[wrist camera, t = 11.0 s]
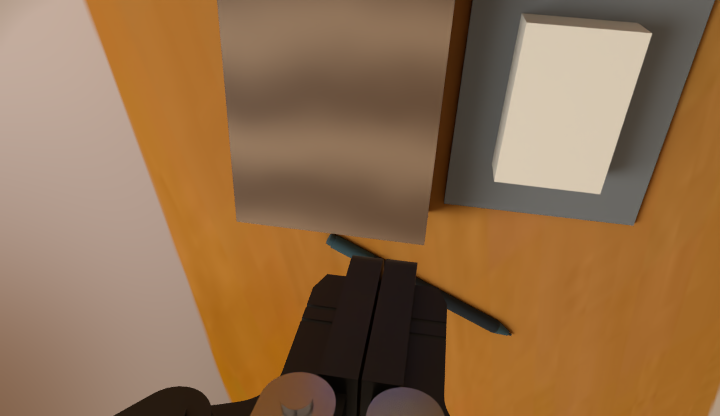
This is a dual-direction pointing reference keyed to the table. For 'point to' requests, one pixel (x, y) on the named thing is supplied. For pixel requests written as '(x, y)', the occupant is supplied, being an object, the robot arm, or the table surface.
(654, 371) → the table surface
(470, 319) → the pen
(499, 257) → the table surface
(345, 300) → the robot arm
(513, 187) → the mat
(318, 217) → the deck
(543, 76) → the cream rectangular block
